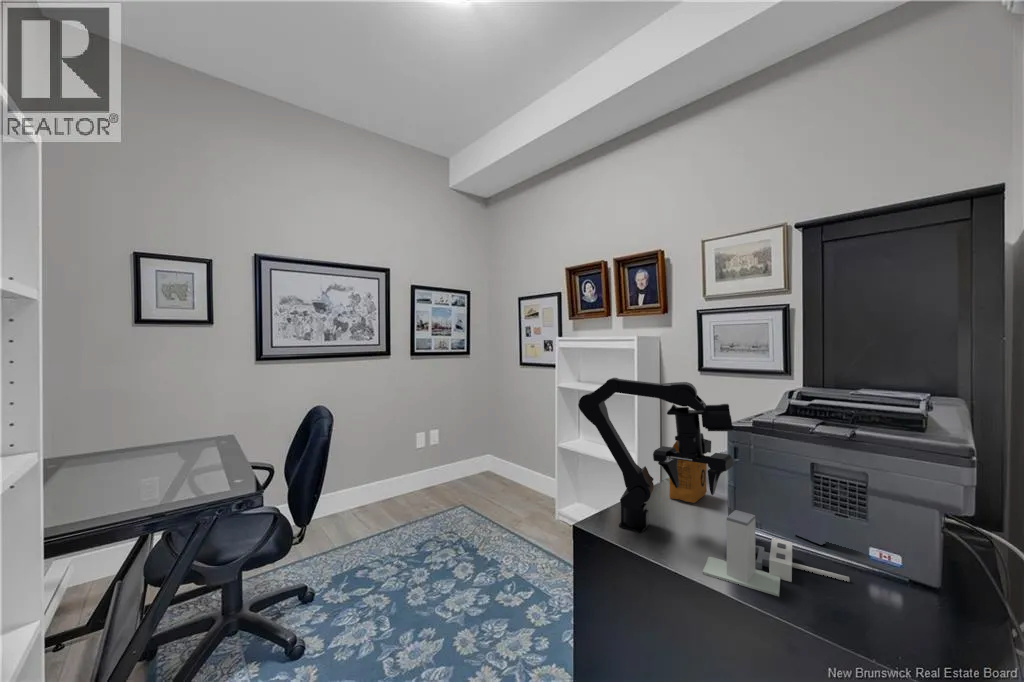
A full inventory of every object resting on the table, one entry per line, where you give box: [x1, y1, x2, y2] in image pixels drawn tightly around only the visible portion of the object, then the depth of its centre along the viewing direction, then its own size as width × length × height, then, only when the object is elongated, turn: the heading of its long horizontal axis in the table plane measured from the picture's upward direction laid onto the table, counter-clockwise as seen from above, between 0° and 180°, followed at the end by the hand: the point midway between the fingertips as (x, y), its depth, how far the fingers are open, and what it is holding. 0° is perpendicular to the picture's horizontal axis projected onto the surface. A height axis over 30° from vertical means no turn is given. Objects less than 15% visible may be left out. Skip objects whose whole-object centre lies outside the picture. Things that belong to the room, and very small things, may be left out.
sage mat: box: [702, 556, 781, 598], centre depth 89 cm, size 14×8×1 cm, turn 55°
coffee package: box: [668, 440, 708, 504], centre depth 133 cm, size 10×12×22 cm
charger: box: [726, 509, 756, 583], centre depth 89 cm, size 4×6×12 cm
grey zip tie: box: [755, 537, 850, 583], centre depth 92 cm, size 22×12×4 cm, turn 55°
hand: (694, 490), depth 107 cm, fingers open, 9 cm apart
